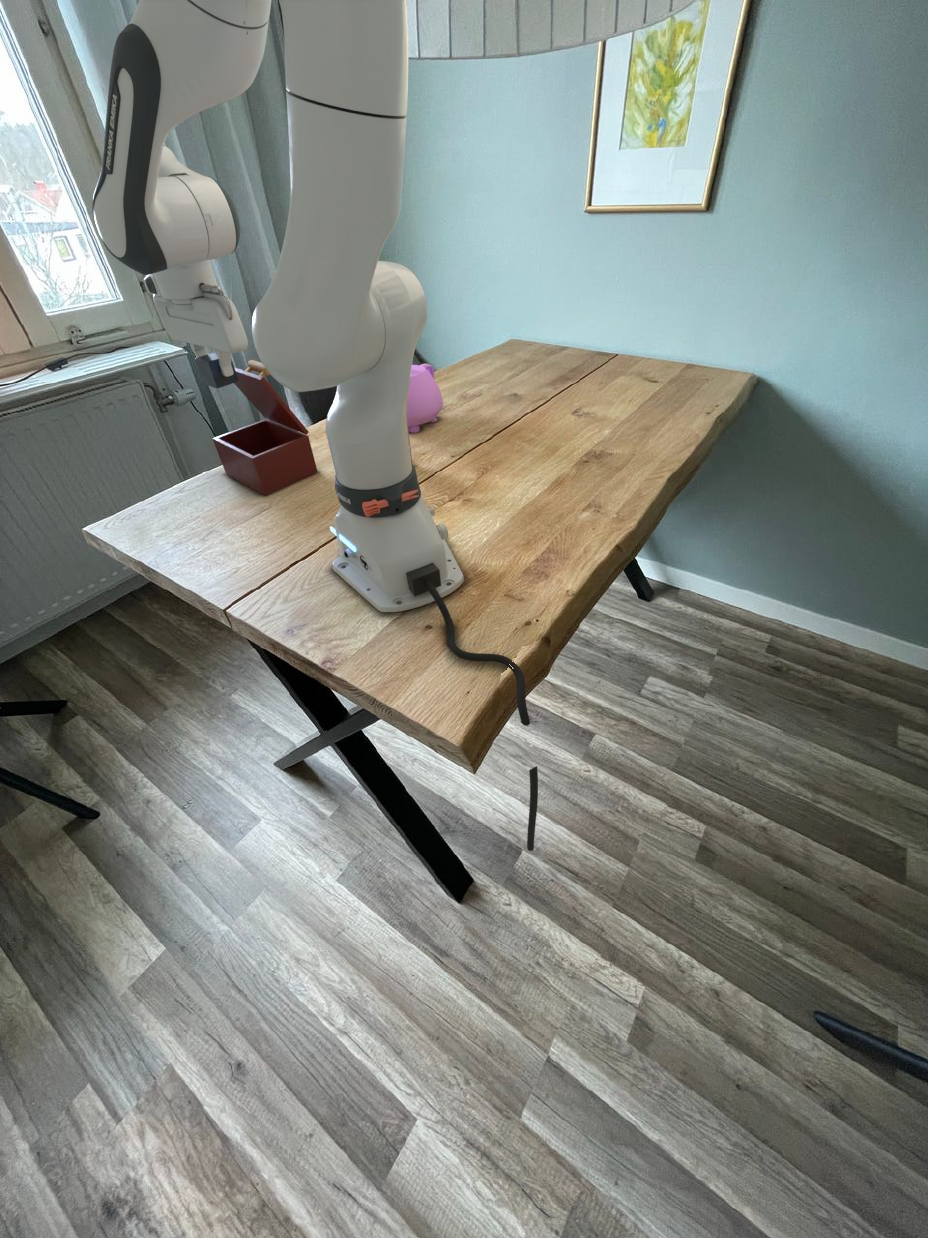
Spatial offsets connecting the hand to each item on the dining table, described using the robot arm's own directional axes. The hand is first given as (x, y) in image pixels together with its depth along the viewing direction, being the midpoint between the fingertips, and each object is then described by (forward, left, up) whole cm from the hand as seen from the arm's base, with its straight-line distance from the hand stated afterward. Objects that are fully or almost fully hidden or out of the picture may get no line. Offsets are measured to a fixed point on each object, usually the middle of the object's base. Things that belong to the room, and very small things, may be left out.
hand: (218, 372), depth 93 cm
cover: (+3, -6, -7) cm, 10 cm away
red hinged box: (+2, -4, -21) cm, 22 cm away
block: (0, 0, -2) cm, 2 cm away
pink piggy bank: (+9, -39, -21) cm, 45 cm away
